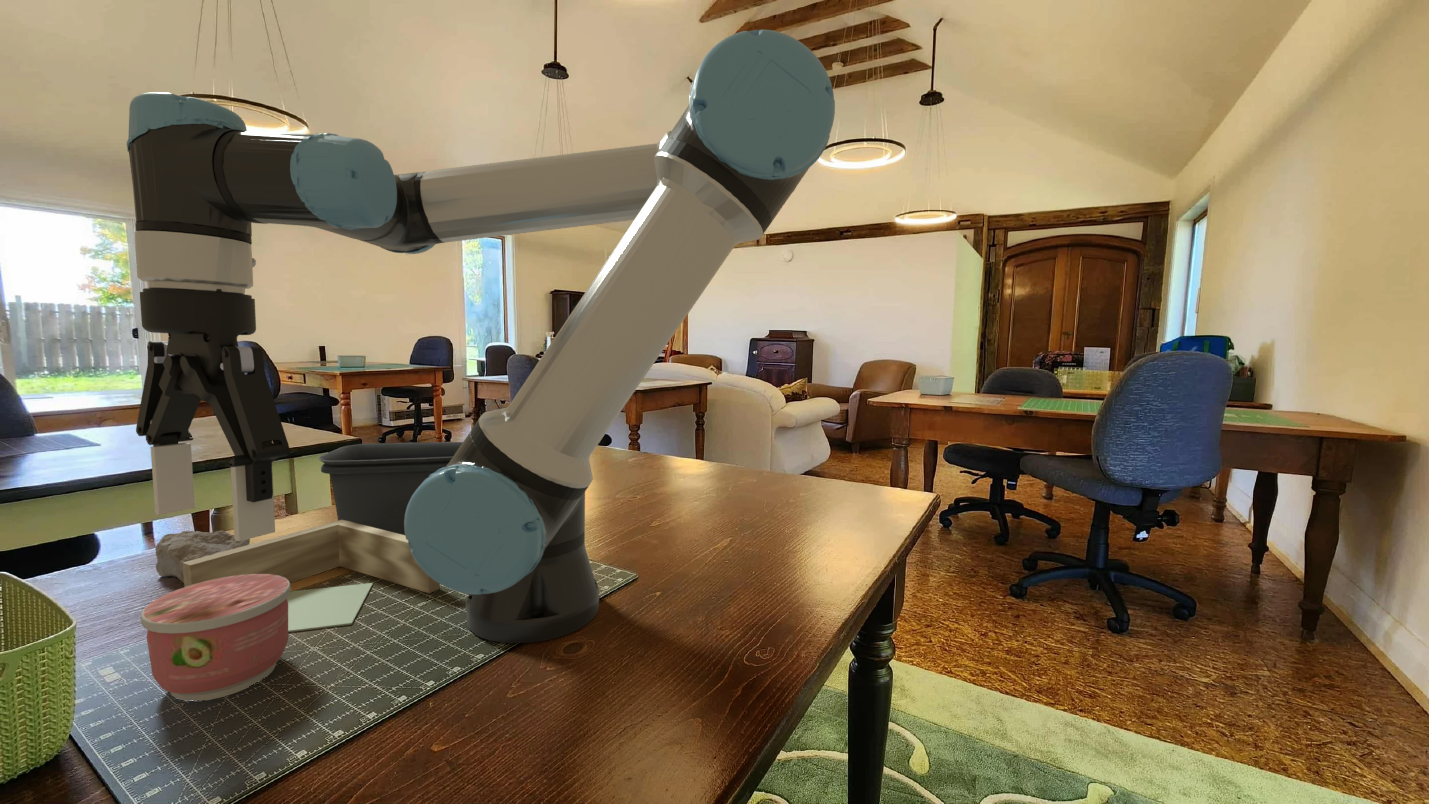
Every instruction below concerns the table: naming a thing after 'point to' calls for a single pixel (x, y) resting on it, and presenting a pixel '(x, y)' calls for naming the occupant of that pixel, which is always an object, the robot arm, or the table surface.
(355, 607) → the plate
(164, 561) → the stone
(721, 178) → the robot arm
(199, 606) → the container
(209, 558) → the corner walls
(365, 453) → the storage bin
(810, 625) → the table surface
